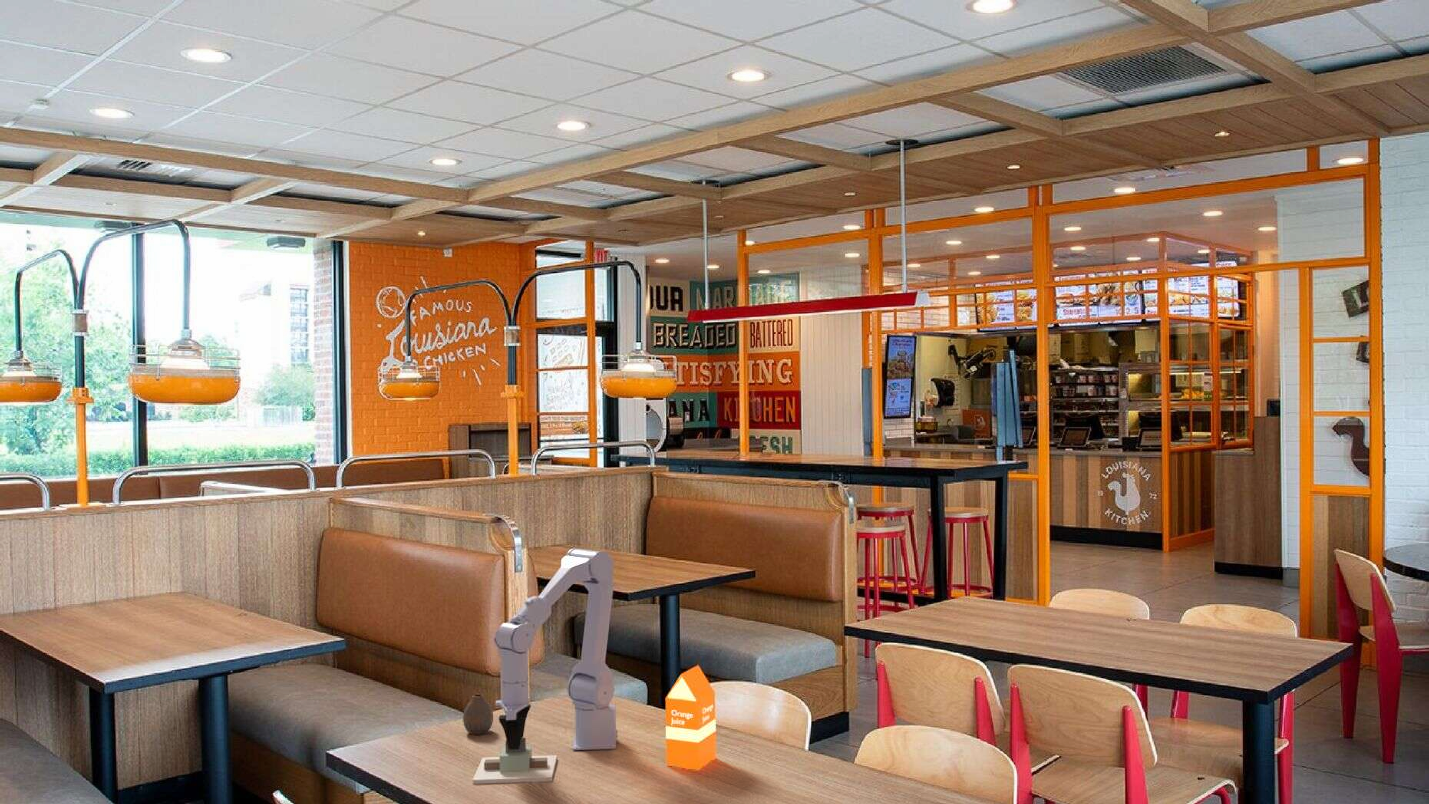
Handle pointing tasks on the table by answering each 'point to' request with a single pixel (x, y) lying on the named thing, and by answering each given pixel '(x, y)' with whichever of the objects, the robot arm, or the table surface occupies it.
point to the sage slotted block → (516, 758)
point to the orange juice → (690, 721)
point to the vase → (478, 715)
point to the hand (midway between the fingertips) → (515, 744)
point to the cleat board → (538, 772)
